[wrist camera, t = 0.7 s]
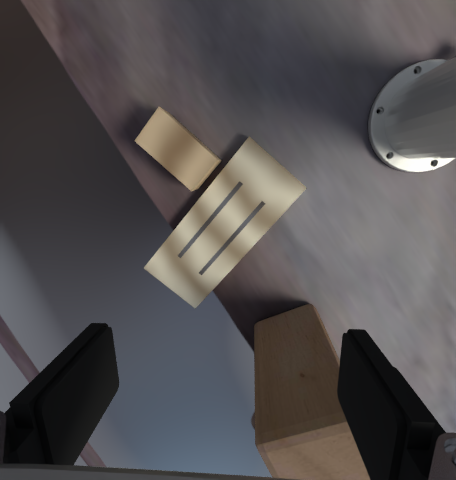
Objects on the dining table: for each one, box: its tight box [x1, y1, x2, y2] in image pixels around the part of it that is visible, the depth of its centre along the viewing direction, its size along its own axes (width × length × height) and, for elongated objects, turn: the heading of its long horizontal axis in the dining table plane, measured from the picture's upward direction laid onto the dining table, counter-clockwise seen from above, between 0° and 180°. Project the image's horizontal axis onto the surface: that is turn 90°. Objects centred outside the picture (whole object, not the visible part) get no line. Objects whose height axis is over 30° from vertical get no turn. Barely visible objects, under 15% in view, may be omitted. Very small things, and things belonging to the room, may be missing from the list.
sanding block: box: [135, 107, 222, 191], centre depth 35 cm, size 9×5×5 cm, turn 49°
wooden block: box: [254, 304, 370, 480], centre depth 33 cm, size 10×10×20 cm
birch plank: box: [144, 137, 306, 309], centre depth 38 cm, size 24×10×2 cm, turn 140°
